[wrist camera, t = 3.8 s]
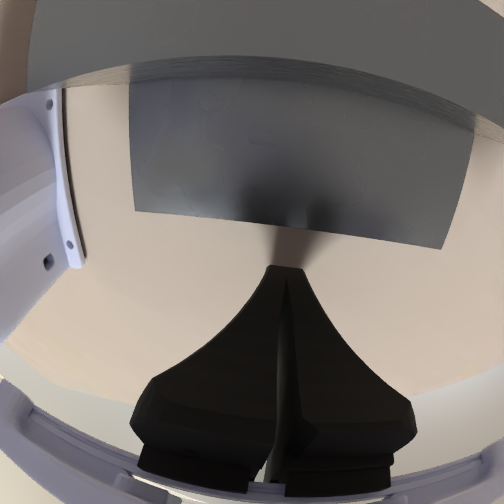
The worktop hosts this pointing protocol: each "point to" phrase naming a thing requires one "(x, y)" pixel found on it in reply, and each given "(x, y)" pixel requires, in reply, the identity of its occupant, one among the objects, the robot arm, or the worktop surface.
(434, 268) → the worktop surface
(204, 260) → the worktop surface
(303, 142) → the bookend
